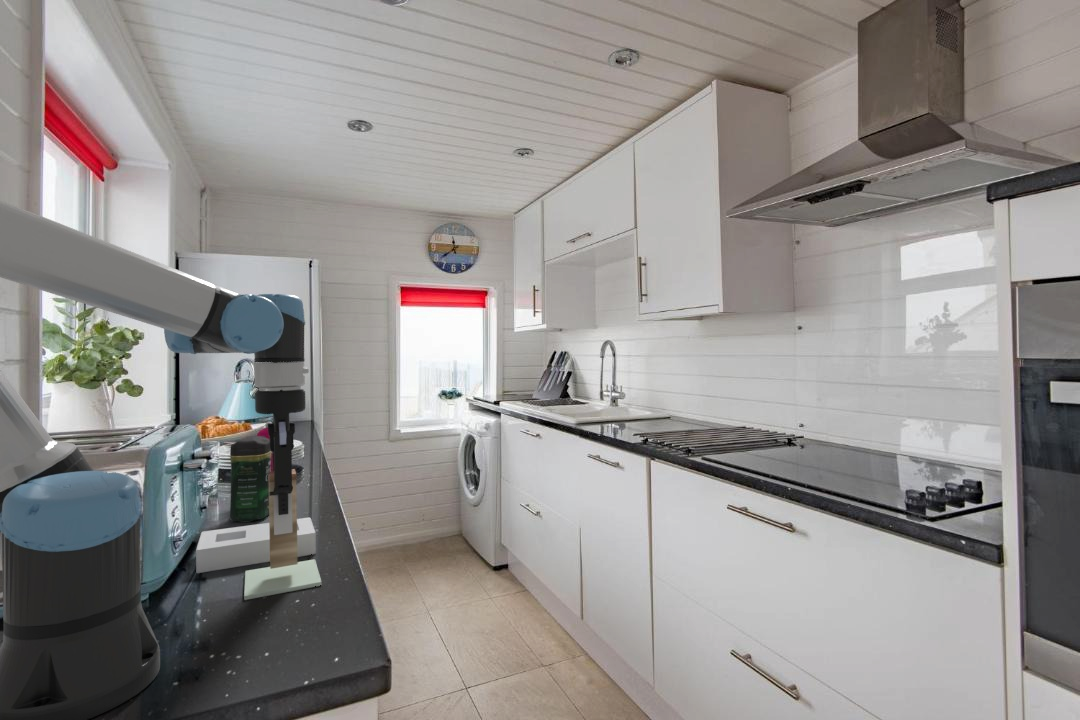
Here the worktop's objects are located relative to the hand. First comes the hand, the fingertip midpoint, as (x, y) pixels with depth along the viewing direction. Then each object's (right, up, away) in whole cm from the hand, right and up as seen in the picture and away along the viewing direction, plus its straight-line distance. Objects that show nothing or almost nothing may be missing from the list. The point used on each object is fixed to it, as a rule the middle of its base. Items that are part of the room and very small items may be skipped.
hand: (282, 528), depth 90 cm
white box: (-10, -8, +12) cm, 18 cm away
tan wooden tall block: (0, -6, 0) cm, 6 cm away
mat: (0, -8, 0) cm, 8 cm away
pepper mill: (-28, -8, +53) cm, 60 cm away
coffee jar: (-24, -9, +35) cm, 44 cm away
